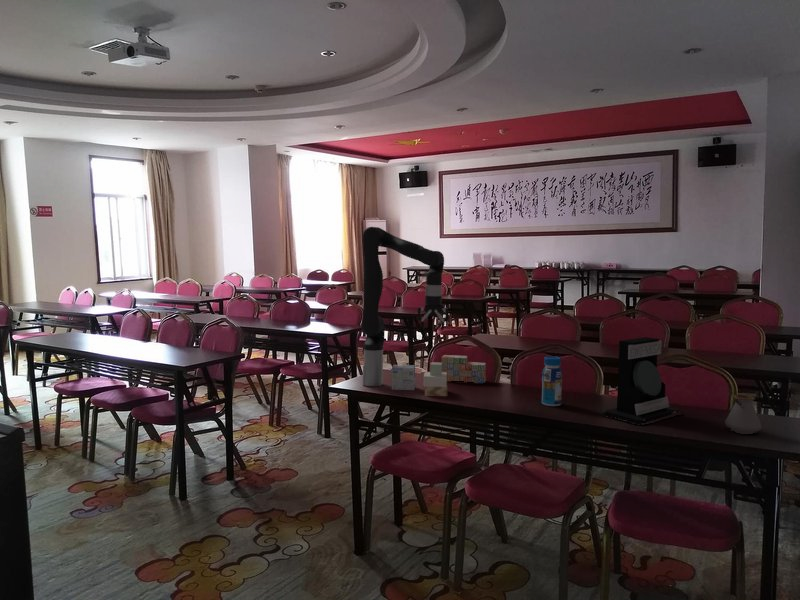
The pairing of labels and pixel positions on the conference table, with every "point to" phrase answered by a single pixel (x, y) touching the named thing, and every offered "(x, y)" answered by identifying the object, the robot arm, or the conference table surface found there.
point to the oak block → (436, 391)
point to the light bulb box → (403, 377)
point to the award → (640, 383)
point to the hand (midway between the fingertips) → (432, 329)
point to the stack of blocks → (463, 369)
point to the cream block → (435, 380)
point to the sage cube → (436, 369)
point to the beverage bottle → (552, 381)
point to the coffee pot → (743, 415)
